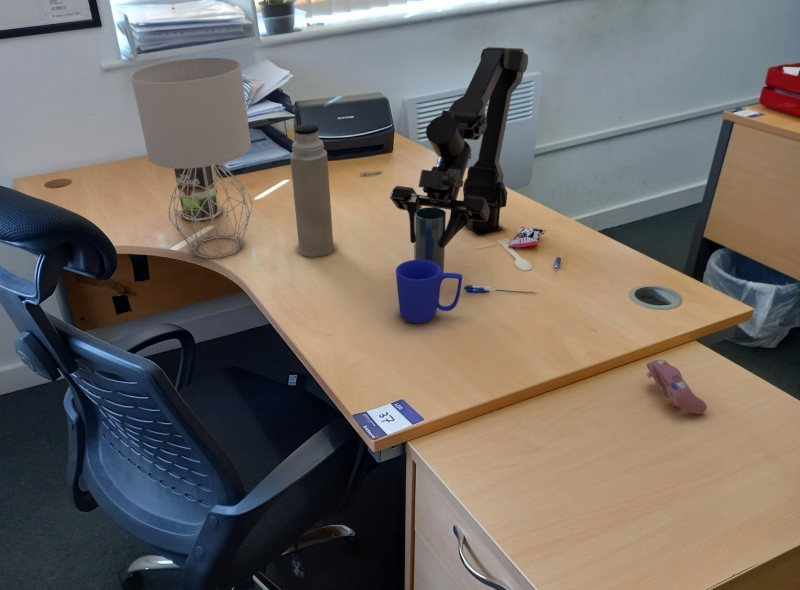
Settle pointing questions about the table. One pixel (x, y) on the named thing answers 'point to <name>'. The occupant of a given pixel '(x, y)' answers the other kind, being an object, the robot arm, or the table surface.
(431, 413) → the table surface
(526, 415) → the table surface
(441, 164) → the robot arm
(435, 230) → the pencil cup
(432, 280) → the mug
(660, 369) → the toy shoe
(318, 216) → the thermos bottle
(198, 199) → the coffee can
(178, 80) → the table lamp
